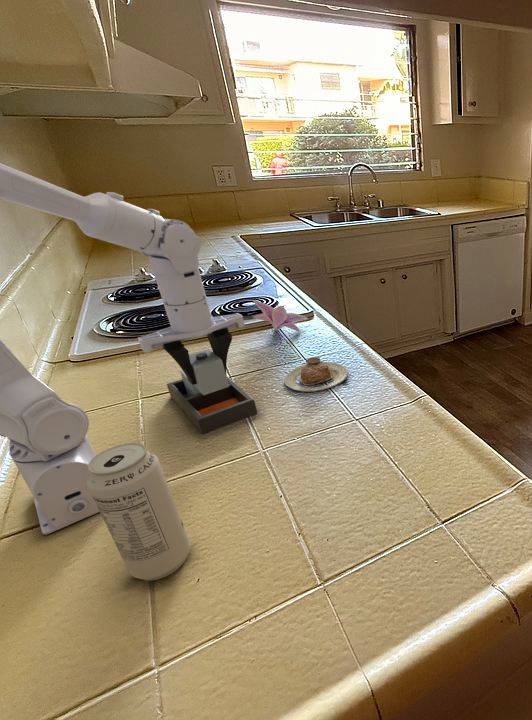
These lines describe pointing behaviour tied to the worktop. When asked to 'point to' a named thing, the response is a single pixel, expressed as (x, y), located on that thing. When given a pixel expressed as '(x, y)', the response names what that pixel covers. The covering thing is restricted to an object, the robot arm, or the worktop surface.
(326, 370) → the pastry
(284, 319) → the lily
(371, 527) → the worktop surface
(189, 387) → the grey block with knob
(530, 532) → the worktop surface
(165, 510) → the energy drink can
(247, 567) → the worktop surface
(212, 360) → the grey knobbed block
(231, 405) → the tray
